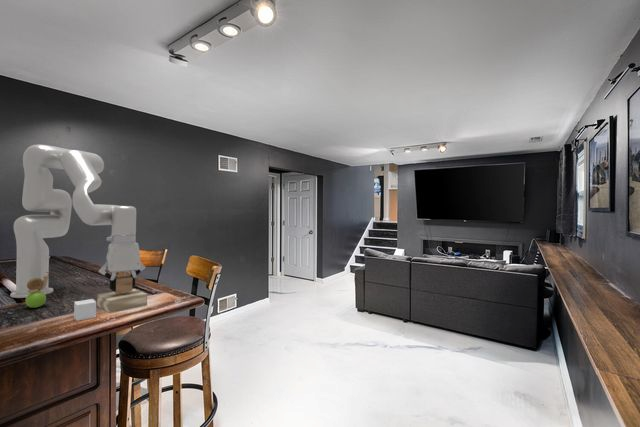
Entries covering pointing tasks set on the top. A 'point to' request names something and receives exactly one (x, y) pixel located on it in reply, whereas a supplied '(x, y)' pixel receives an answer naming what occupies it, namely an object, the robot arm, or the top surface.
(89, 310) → the grey cube
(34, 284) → the snail figurine
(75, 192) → the robot arm
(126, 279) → the walnut cube
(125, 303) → the birch block
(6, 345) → the top surface
